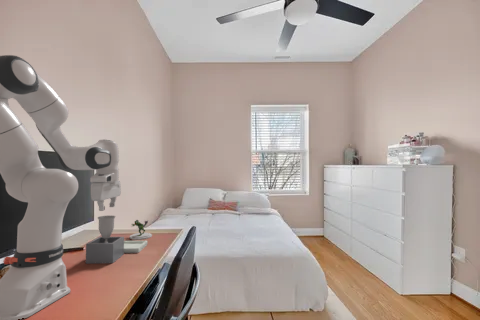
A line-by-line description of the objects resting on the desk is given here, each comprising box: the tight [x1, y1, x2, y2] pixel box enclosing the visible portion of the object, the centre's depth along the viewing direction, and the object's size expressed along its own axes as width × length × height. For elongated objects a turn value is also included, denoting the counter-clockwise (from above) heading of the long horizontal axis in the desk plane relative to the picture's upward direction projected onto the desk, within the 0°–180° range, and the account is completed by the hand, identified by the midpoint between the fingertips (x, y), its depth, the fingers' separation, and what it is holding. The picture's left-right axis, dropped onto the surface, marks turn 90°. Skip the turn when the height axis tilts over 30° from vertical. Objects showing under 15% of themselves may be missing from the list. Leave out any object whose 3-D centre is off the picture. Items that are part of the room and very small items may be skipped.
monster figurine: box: [129, 219, 153, 241], centre depth 147 cm, size 12×12×10 cm
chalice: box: [97, 215, 116, 243], centre depth 111 cm, size 7×7×18 cm
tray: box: [124, 240, 148, 254], centre depth 125 cm, size 13×13×2 cm
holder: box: [85, 236, 125, 264], centre depth 111 cm, size 11×11×8 cm
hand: (107, 208), depth 112 cm, fingers open, 8 cm apart
